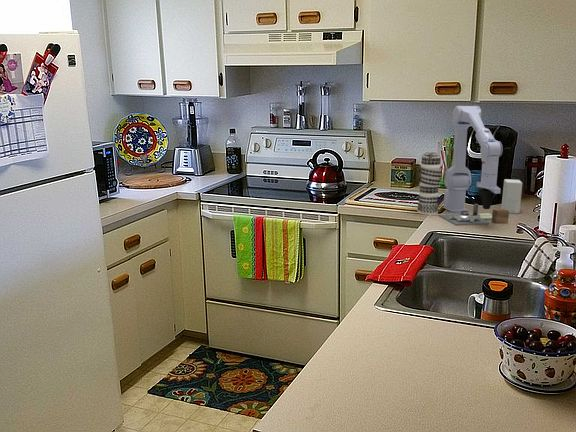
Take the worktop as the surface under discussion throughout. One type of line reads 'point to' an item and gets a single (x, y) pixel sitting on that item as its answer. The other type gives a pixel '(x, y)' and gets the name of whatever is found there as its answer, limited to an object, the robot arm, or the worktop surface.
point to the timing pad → (486, 216)
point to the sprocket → (466, 215)
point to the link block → (500, 216)
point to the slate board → (463, 221)
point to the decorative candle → (429, 183)
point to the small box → (512, 195)
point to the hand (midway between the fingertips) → (486, 208)
